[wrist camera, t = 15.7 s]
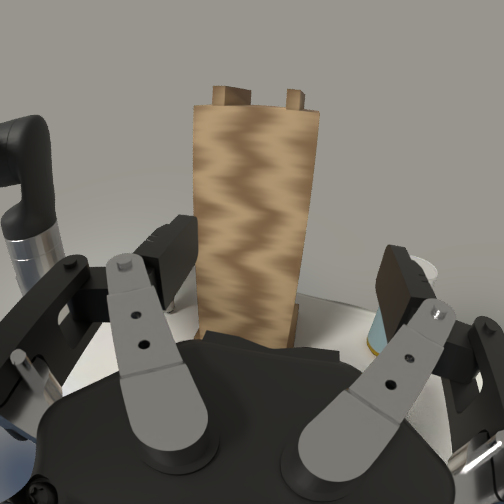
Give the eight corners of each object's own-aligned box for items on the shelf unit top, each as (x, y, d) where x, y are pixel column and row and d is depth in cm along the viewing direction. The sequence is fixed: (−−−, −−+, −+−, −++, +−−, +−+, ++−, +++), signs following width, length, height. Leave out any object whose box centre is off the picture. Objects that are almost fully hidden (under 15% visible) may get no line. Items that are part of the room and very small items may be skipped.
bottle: (370, 327, 47) (397, 248, 40) (407, 339, 44) (440, 263, 37) (360, 353, 42) (391, 270, 34) (401, 368, 39) (441, 287, 31)
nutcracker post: (194, 345, 42) (185, 86, 26) (217, 298, 52) (221, 89, 36) (290, 364, 40) (332, 94, 23) (297, 311, 50) (327, 97, 34)
